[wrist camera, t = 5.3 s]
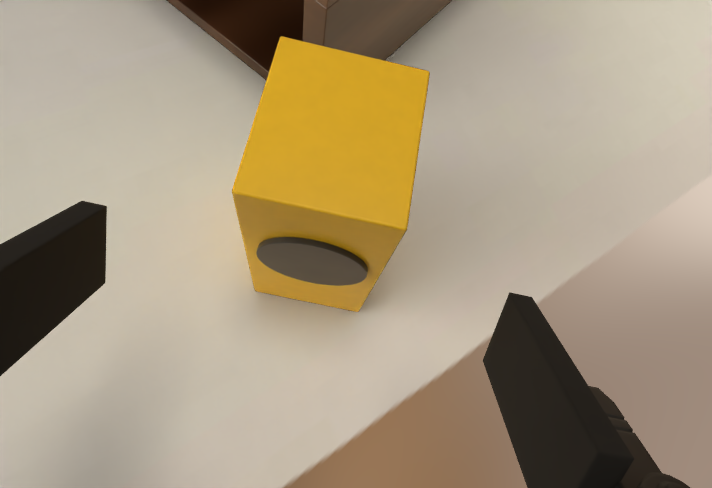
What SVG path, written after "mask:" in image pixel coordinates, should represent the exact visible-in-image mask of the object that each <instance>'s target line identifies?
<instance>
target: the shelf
mask: <svg viewBox="0 0 712 488" xmlns="http://www.w3.org/2000/svg"><path fill="white" fill-rule="evenodd" d="M167 1H168V2H169V3H171V4H172V5H173V6H174V7H176V8H177V9H178V10H179V11H181V12H182V13H183V14H184V15H186V16H187V17H188V18H189V19H191V20H192V21H193V22H194V23H196V24H197V25H198V26H199V27H201V28H202V29H203V30H204V31H206V32H207V33H208V34H209V35H211V36H212V37H213V38H214V39H216V40H217V41H218V42H219V43H221V44H222V45H223V46H225V47H226V48H227V49H228V50H230V51H231V52H232V53H233V54H235V55H236V56H237V57H238V58H240V59H241V60H242V61H243V62H245V63H246V64H247V65H248V66H250V67H251V68H252V69H253V70H255V71H256V72H257V73H258V74H260V75H261V76H262V77H263V78H265V79H266V80H267V77H268V74H269V71H270V67H271V64H272V61H273V58H274V55H275V51H276V48H277V45H278V42H279V39H280V37H282V36H283V37H287V38H291V39H295V40H299V41H304V42H308V43H312V44H316V45H321V46H325V47H329V48H333V49H337V50H342V51H346V52H350V53H354V54H359V55H363V56H367V57H371V58H375V59H380V60H385V59H386V58H387V57H388V56H390V55H391V54H392V53H393V52H394V51H395V50H396V49H398V48H399V47H400V46H401V45H402V44H403V43H404V42H405V41H407V40H408V39H409V38H410V37H411V36H412V35H413V34H414V33H416V32H417V31H418V30H419V29H420V28H421V27H422V26H424V25H425V24H426V23H427V22H428V21H429V20H430V19H431V18H433V17H434V16H435V15H436V14H437V13H438V12H439V11H441V10H442V9H443V8H444V7H445V6H446V5H447V4H448V3H450V2H451V1H452V0H167Z"/></svg>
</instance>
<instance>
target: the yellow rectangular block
mask: <svg viewBox="0 0 712 488" xmlns="http://www.w3.org/2000/svg"><path fill="white" fill-rule="evenodd" d="M429 75H430V73H429V71H426V70H422V69H418V68H413V67H409V66H405V65H401V64H397V63H392V62H388V61H384V60H380V59H375V58H371V57H367V56H363V55H359V54H354V53H350V52H346V51H342V50H337V49H333V48H329V47H325V46H321V45H316V44H312V43H308V42H304V41H299V40H295V39H291V38H287V37H283V36H282V37H280V39H279V42H278V45H277V48H276V51H275V55H274V58H273V61H272V64H271V67H270V71H269V74H268V77H267V80H266V83H265V87H264V90H263V93H262V96H261V99H260V103H259V106H258V109H257V112H256V115H255V119H254V122H253V125H252V128H251V131H250V135H249V138H248V141H247V144H246V147H245V151H244V154H243V157H242V160H241V163H240V167H239V170H238V173H237V176H236V179H235V183H234V186H233V189H232V194H233V199H234V203H235V207H236V212H237V216H238V220H239V225H240V229H241V233H242V237H243V242H244V246H245V250H246V255H247V259H248V263H249V268H250V272H251V276H252V280H253V285H254V289H255V291H258V292H263V293H268V294H272V295H277V296H282V297H287V298H292V299H297V300H302V301H307V302H311V303H316V304H321V305H326V306H331V307H336V308H341V309H346V310H350V311H355V312H359V310H360V308H361V307H362V305H363V303H364V302H365V300H366V298H367V296H368V295H369V293H370V291H371V290H372V288H373V286H374V285H375V283H376V281H377V279H378V278H379V276H380V274H381V273H382V271H383V269H384V267H385V266H386V264H387V262H388V261H389V259H390V257H391V256H392V254H393V252H394V250H395V249H396V247H397V245H398V244H399V242H400V240H401V239H402V237H403V235H404V233H405V232H406V230H407V226H408V220H409V213H410V206H411V199H412V192H413V185H414V178H415V171H416V165H417V158H418V151H419V144H420V137H421V130H422V123H423V116H424V109H425V103H426V96H427V89H428V82H429Z"/></svg>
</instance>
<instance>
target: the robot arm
mask: <svg viewBox="0 0 712 488" xmlns="http://www.w3.org/2000/svg"><path fill="white" fill-rule="evenodd" d="M106 214H107V206H104V205H99V204H94V203H90V202H85V201H81V202H79V203H77V204H75V205H73V206H71V207H69V208H68V209H66V210H64V211H62V212H60V213H58V214H56V215H55V216H53V217H51V218H49V219H47V220H45V221H43V222H41V223H40V224H38V225H36V226H34V227H32V228H30V229H28V230H26V231H25V232H23V233H21V234H19V235H17V236H15V237H13V238H11V239H10V240H8V241H6V242H4V243H2V244H0V376H1V375H2V374H3V373H4V372H5V371H7V370H8V369H9V368H10V367H11V366H12V365H13V364H14V363H16V362H17V361H18V360H19V359H20V358H21V357H22V356H23V355H25V354H26V353H27V352H28V351H29V350H30V349H31V348H32V347H34V346H35V345H36V344H37V343H38V342H39V341H40V340H41V339H43V338H44V337H45V336H46V335H47V334H48V333H49V332H50V331H52V330H53V329H54V328H55V327H56V326H57V325H58V324H59V323H61V322H62V321H63V320H64V319H65V318H66V317H67V316H68V315H70V314H71V313H72V312H73V311H74V310H75V309H76V308H77V307H79V306H80V305H81V304H82V303H83V302H84V301H85V300H86V299H88V298H89V297H90V296H91V295H92V294H93V293H94V292H95V291H97V290H98V289H99V288H100V287H101V286H102V285H103V284H104V283H105V269H106ZM483 362H484V365H485V368H486V371H487V373H488V377H489V379H490V382H491V385H492V388H493V391H494V394H495V396H496V399H497V402H498V405H499V408H500V411H501V413H502V416H503V419H504V422H505V425H506V428H507V430H508V433H509V436H510V439H511V442H512V444H513V448H514V450H515V453H516V456H517V459H518V462H519V465H520V468H521V470H522V473H523V476H524V479H525V482H526V485H527V487H528V488H690V487H689V486H687V485H686V484H685V483H683V482H682V481H680V480H678V479H676V478H673V477H672V476H670V475H666V474H663V473H662V472H661V471H660V470H659V468H658V467H657V465H656V464H655V462H654V461H653V459H652V458H651V456H650V455H649V453H648V452H647V451H646V449H645V447H644V446H643V444H642V443H641V441H640V440H639V439H638V437H637V436H636V434H635V433H633V432H632V431H633V430H632V428H631V427H630V425H629V424H628V422H627V421H625V420H624V416H623V415H622V413H621V412H620V411H619V409H618V408H617V406H616V405H615V403H614V402H613V401H612V400H611V399H610V398H609V397H607V396H606V395H605V394H604V393H603V392H602V391H601V390H600V389H599V388H596V387H591V386H588V385H587V383H586V382H585V380H584V379H583V377H582V375H581V374H580V372H579V371H578V369H577V368H576V366H575V365H574V363H573V361H572V360H571V358H570V357H569V355H568V353H567V352H566V351H565V349H564V347H563V346H562V344H561V342H560V341H559V339H558V338H557V336H556V334H555V333H554V331H553V330H552V328H551V327H550V325H549V323H548V322H547V320H546V319H545V317H544V316H543V314H542V312H541V311H540V309H539V308H538V306H537V305H536V303H535V301H534V300H533V298H532V297H528V296H524V295H519V294H514V293H510V292H509V295H508V298H507V300H506V303H505V305H504V308H503V310H502V313H501V315H500V318H499V320H498V323H497V326H496V328H495V331H494V333H493V336H492V338H491V341H490V343H489V346H488V348H487V351H486V354H485V356H484V359H483Z"/></svg>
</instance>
